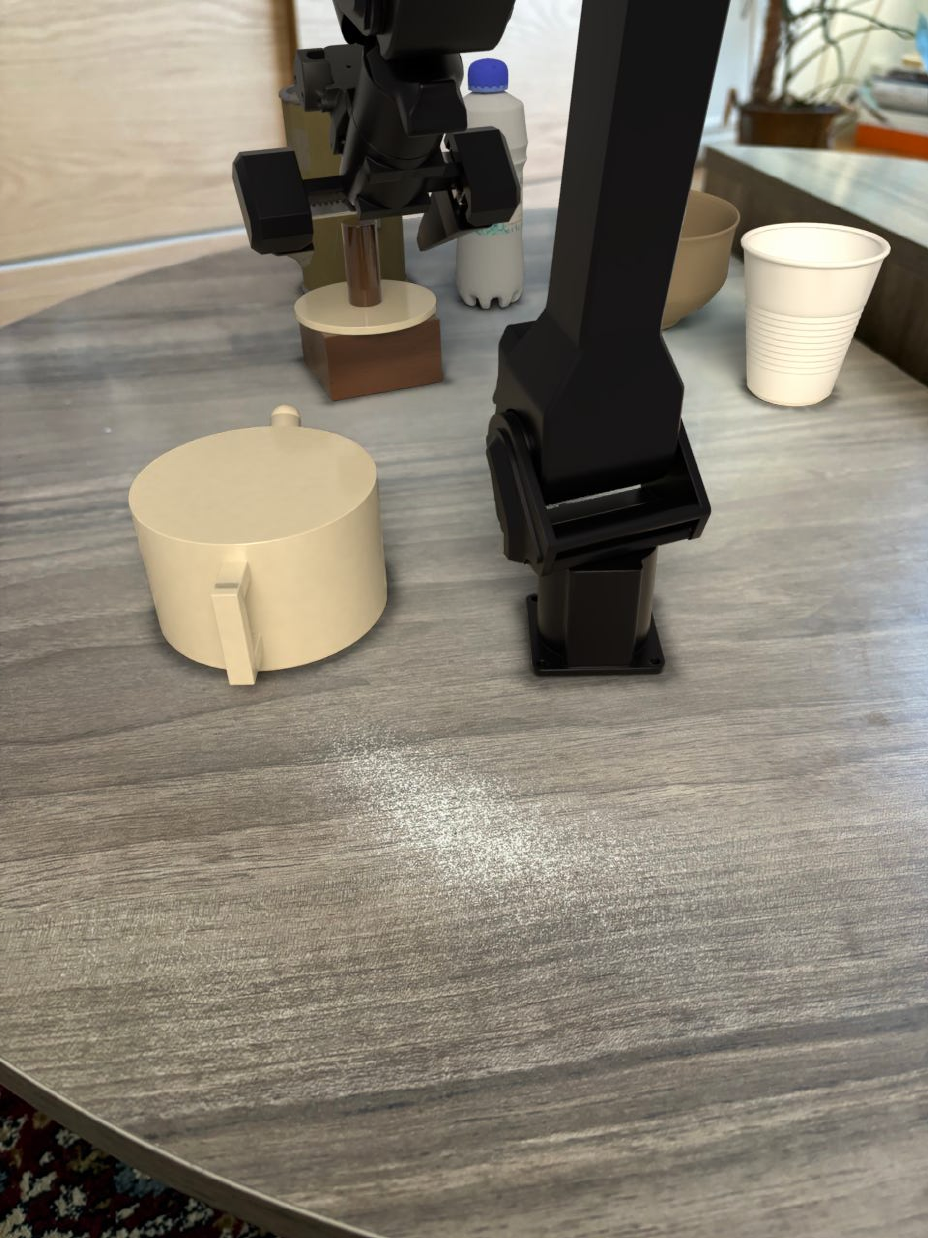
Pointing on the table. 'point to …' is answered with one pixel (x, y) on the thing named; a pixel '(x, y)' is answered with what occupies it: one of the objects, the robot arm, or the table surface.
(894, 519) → the table surface
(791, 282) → the cup
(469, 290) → the bottle
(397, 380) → the stand
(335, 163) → the canister
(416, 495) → the table surface
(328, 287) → the lid
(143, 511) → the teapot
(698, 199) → the bowl
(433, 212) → the robot arm
